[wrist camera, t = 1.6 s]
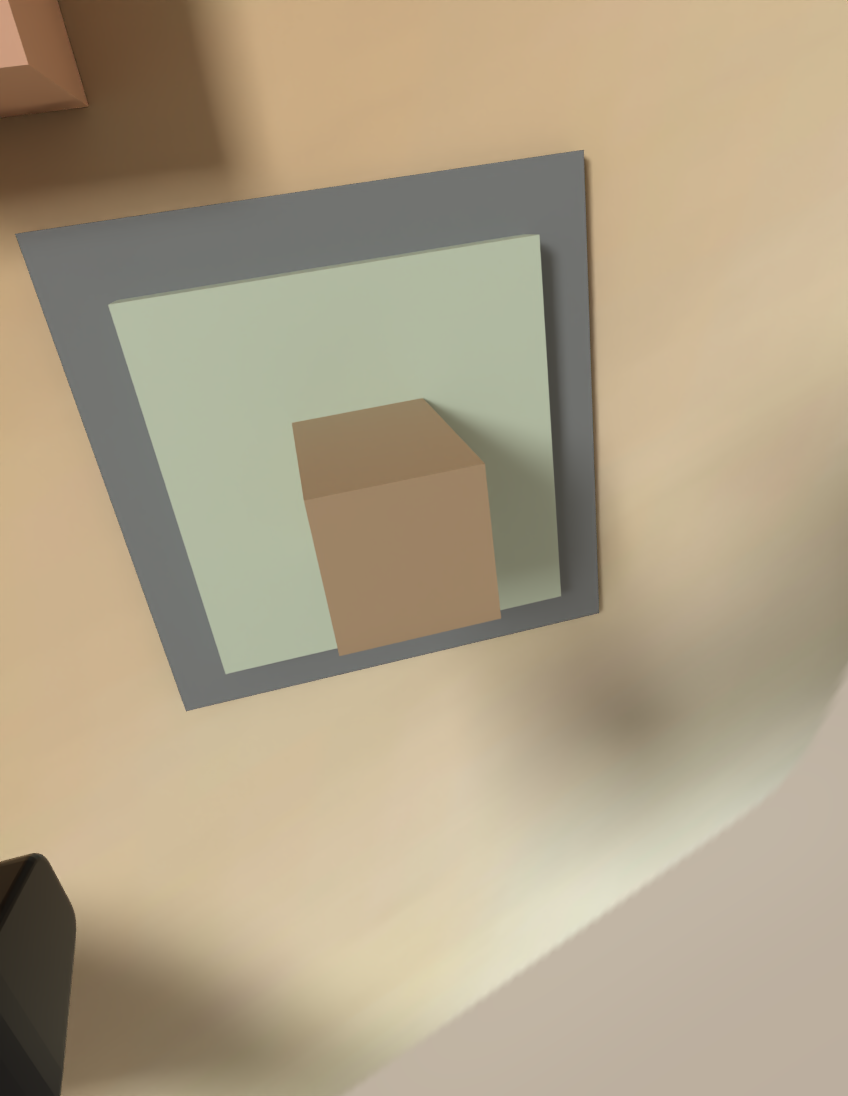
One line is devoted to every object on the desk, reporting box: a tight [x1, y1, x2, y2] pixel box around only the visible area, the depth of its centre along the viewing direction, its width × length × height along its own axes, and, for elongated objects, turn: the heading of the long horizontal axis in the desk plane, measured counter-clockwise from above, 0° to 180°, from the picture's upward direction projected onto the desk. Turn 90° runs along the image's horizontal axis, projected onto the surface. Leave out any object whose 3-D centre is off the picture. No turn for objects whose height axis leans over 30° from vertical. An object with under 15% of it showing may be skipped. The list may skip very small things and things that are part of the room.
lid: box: [108, 234, 561, 674], centre depth 15 cm, size 9×9×6 cm
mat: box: [15, 150, 599, 711], centre depth 18 cm, size 12×12×1 cm
